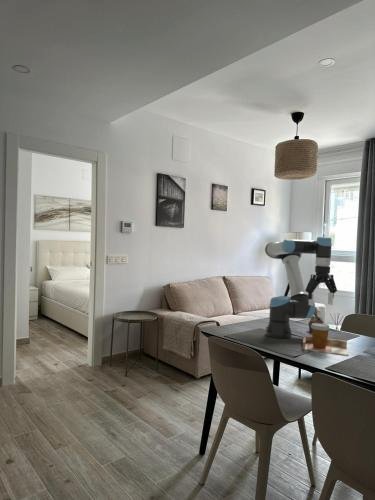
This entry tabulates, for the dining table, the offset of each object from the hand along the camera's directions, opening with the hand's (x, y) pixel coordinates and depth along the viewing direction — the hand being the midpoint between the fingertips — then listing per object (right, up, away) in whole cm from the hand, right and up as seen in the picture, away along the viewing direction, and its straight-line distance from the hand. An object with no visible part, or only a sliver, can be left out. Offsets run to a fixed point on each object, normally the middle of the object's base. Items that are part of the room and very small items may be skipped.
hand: (320, 304), depth 191 cm
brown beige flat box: (+1, -23, -2) cm, 23 cm away
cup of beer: (-1, -22, -2) cm, 23 cm away
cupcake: (+11, -23, +37) cm, 45 cm away
